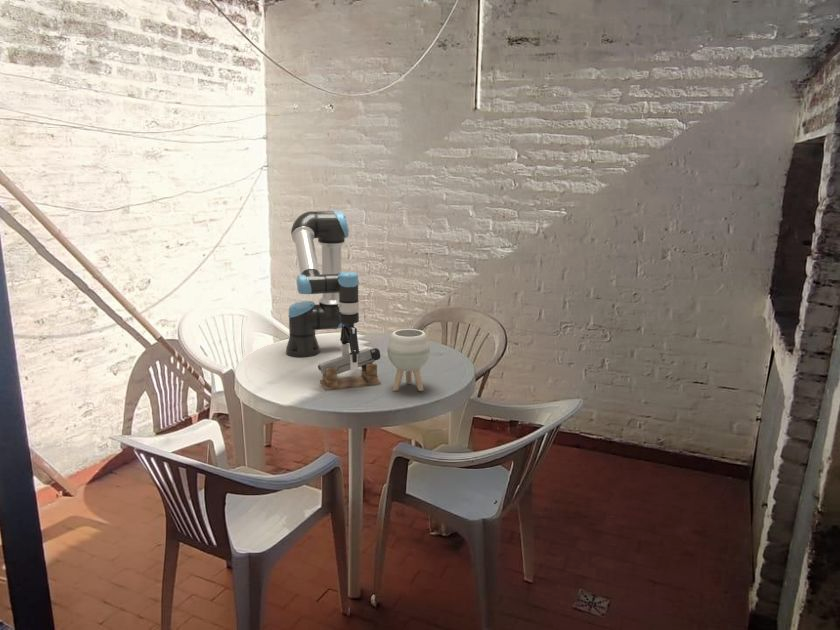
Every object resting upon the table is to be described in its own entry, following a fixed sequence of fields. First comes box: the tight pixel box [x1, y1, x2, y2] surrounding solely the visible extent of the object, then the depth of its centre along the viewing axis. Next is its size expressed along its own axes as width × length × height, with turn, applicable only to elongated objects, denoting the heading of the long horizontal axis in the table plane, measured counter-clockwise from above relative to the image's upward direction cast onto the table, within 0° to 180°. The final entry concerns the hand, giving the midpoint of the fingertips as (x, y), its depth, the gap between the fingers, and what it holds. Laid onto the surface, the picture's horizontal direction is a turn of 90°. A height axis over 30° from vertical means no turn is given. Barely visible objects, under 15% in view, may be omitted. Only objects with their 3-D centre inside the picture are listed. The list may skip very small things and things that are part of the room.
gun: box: [317, 347, 381, 378], centre depth 252 cm, size 2×25×10 cm, turn 110°
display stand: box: [319, 363, 381, 391], centre depth 252 cm, size 22×10×8 cm, turn 110°
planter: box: [387, 328, 431, 392], centre depth 245 cm, size 16×16×22 cm
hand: (349, 364), depth 251 cm, fingers open, 13 cm apart
